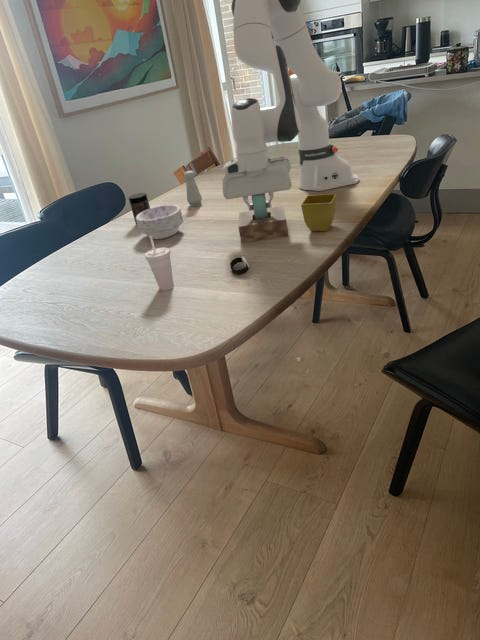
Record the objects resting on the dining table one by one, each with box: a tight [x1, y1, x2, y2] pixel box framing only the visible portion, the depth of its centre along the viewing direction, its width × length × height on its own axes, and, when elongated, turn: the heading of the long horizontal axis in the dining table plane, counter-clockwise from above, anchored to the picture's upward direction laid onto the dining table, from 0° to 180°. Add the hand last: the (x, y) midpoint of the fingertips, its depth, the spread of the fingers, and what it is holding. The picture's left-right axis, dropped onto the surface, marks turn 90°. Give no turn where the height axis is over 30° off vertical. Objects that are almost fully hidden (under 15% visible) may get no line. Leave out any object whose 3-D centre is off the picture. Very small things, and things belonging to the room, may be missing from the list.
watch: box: [229, 256, 250, 276], centre depth 122 cm, size 8×5×4 cm, turn 17°
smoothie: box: [144, 236, 175, 291], centre depth 117 cm, size 6×6×14 cm
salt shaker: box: [183, 170, 203, 207], centre depth 183 cm, size 6×6×13 cm
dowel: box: [251, 193, 268, 220], centre depth 141 cm, size 4×4×8 cm
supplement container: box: [127, 192, 151, 226], centre depth 173 cm, size 7×7×10 cm
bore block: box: [237, 205, 289, 244], centre depth 144 cm, size 14×14×5 cm
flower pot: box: [300, 193, 337, 232], centre depth 137 cm, size 9×9×9 cm
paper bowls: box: [136, 204, 184, 240], centre depth 158 cm, size 15×15×8 cm
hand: (260, 208), depth 142 cm, fingers closed on dowel, 4 cm apart
